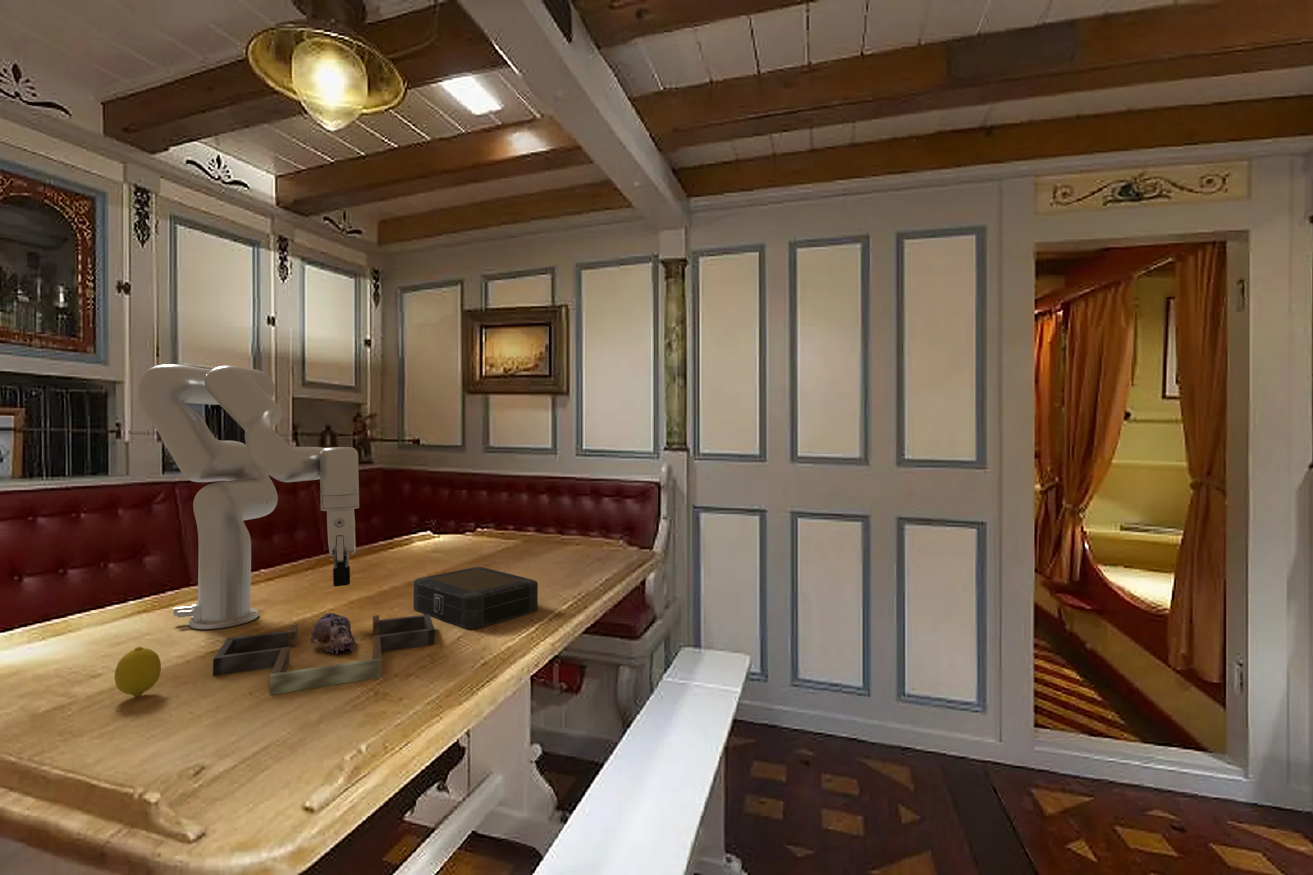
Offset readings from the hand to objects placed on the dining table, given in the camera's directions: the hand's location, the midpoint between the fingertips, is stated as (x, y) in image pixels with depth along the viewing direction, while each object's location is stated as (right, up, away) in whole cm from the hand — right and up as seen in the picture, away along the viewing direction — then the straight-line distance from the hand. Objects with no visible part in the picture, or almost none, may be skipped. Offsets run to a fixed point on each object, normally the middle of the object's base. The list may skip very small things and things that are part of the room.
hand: (341, 584), depth 128 cm
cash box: (+25, -10, +13) cm, 30 cm away
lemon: (-13, -9, -35) cm, 39 cm away
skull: (+6, -10, -13) cm, 17 cm away
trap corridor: (+8, -9, -17) cm, 21 cm away
